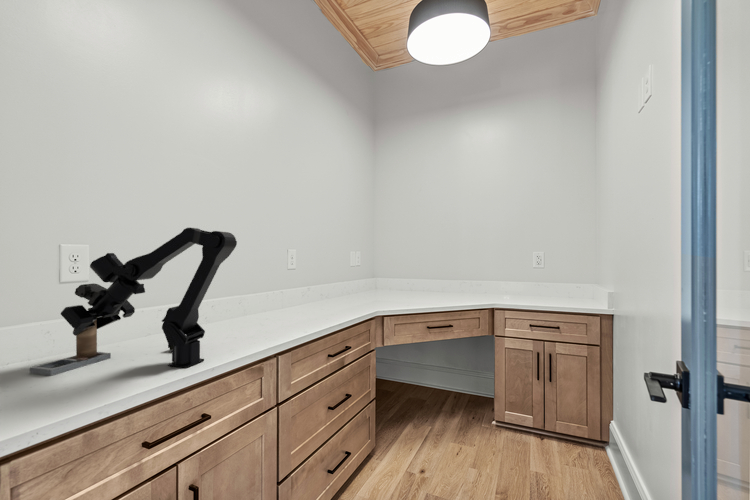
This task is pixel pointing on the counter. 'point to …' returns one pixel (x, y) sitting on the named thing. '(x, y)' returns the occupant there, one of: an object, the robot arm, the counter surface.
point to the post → (87, 342)
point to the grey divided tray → (67, 364)
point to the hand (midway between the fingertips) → (82, 332)
